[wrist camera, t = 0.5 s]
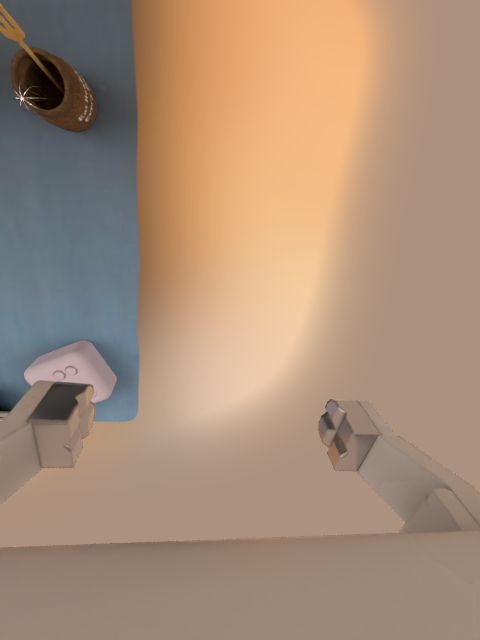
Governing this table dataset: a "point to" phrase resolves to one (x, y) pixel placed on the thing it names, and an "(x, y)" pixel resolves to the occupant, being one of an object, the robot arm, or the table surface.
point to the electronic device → (74, 368)
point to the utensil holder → (49, 84)
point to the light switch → (3, 414)
